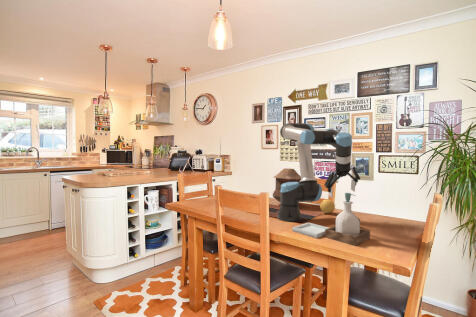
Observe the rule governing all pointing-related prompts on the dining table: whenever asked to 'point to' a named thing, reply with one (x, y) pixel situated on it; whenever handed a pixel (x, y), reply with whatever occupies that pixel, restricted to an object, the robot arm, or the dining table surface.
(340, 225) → the soap bottle
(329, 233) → the walnut holder
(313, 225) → the tray
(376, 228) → the dining table surface
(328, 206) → the stress ball
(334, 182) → the robot arm
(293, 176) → the pottery vessel
